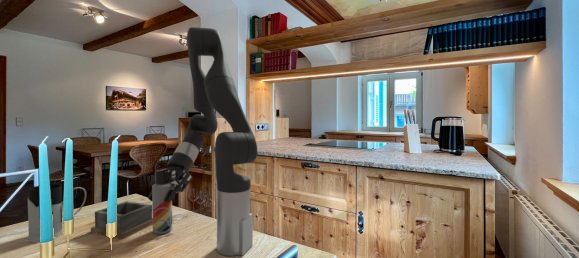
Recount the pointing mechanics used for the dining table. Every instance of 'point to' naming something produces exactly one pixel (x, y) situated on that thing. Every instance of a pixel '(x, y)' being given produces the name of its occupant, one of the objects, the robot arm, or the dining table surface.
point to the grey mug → (56, 209)
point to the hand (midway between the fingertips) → (158, 200)
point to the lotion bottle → (161, 203)
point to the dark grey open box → (125, 219)
